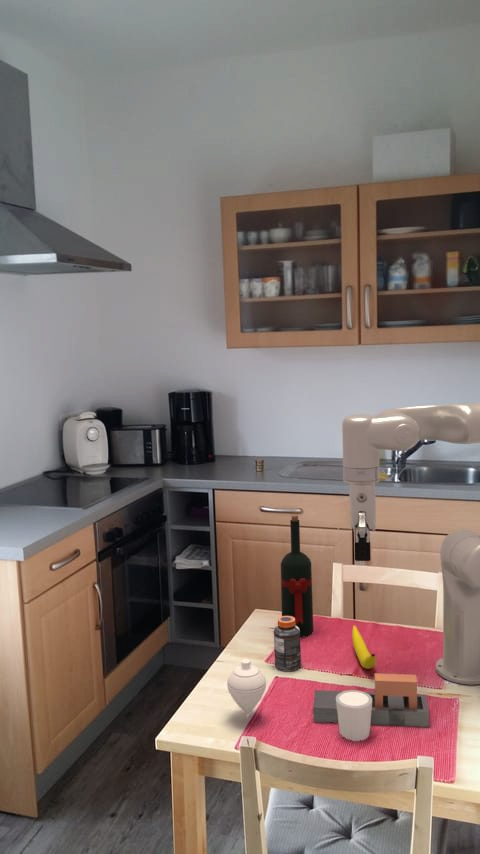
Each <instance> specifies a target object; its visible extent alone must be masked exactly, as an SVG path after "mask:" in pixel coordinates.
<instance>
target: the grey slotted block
mask: <svg viewBox="0 0 480 854" xmlns="http://www.w3.org/2000/svg"><path fill="white" fill-rule="evenodd" d="M343 691H344V690H342V691H341V690H325V689H321V690H320V689H319V690H318V689H315V690H314V695H313V704H312V705H313V706H312V718H313V720H312V721H313V723H325V722H328V723H330V722H333V723H332V724H339V722H338V713H337V705H336V696H337V695H338V694H339V693H341V692H343ZM364 692H365V693H367V694H369V695H370V696H371V697H372V711H371V723H370V726H375V725H376V726H394V727H395V726H398V727H399V726H400V727H417V728H420V727H421V728H429V727H430V710H429V705H428V699H427V694H426V693H425V694H424V693H417V709H408V696H384V695H383V708H375V691H374V692H373V691H371V692H370V691H364ZM335 722H336V723H335ZM330 724H331V723H330Z"/></svg>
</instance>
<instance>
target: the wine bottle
mask: <svg viewBox="0 0 480 854" xmlns="http://www.w3.org/2000/svg"><path fill="white" fill-rule="evenodd" d="M290 516H291V517H290V518H291V519H290V520H289V521H290V523H289V525H290V552H288V553H287V554H285V555H284V557H283V558H282V560H281V562H280V592H281V593H280V594H281V596H280V597H281V598H280V599H281V600H280V601H281V617H282V616H292V617H294V618H295V622H296V624H295V626H297V627H298V628H299V630H300V637H302V638H304V637H303V636H307V637H309V636H311V635H313V633H314V608H313V607H314V606H313V605H314V604H313V580H312V579H313V577H312V561H311V559H310V557H308V555H306V554H305V553H304V552H302V551H301V535H300V519H299V515H298V514H290ZM312 632H313V633H312ZM310 634H311V635H310ZM308 635H309V636H308Z"/></svg>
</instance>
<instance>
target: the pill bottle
mask: <svg viewBox="0 0 480 854" xmlns="http://www.w3.org/2000/svg"><path fill="white" fill-rule="evenodd" d="M295 624H296V622H295V618H294V617H292V616H282V615H281V616H280V617H278V619H277V626H276V627H274V629H273V642H274V643H273V644H274V646H273V647H274V649H273V650H274V666H275V668H276V669H278V670H280V671H283V672H295V671H297V670H298V669H300V667H301V665H302V656H301V655H302V654H301V652H302V651H301V649H302V648H301V638H300V630H299V628H298V627H297V626H295Z"/></svg>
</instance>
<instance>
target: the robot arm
mask: <svg viewBox="0 0 480 854" xmlns="http://www.w3.org/2000/svg"><path fill="white" fill-rule="evenodd" d="M341 423H342V430H341V431H342V434H341V435H342V481H343V482H344V483H345V484H348V490H349V491H348V493H349V495H348V496H349V514H350V520H351V522H350V523H351V527H352V530H353V531H354V541H353V542H354V560H355V562H370V561H371V541H370V530H372V532H375V531H376V529H377V525H376V524H377V520H376V511H377V509H376V508H377V507H376V505H377V504H376V503H377V502H376V486H375V484H377V483H380V482H381V480H380V478H381V477H380V475H381V474H380V472H381V471H380V450H385V451H396V452H402V451H407V450H410V449H412V448H413V447H415V446H416V445H417V444H418V442H419V441H423V440H424V441H425V440H426V441H427V440H428V441H441V442H446V443H448V444H449V443H451V444H458V445H459V444H460V445H470V444H471V445H473V444H480V401H479V402H469V403H467V402H466V403H449V404H442V405H440V404H438V405H437V404H435V405H419V406H418V405H417V406H406V407H395V408H387V409H384V410H382V411H380V412H379V413H378V414H376V415H372V414H364V413H363V414H360V413H359V414H358V413H357V414H350V415H347V416H345V417H344V418H343V420H342V422H341ZM439 558H440V567H441V575H442V588H443V591H442V593H443V594H442V595H443V597H442V598H443V600H442V601H443V602H442V604H443V605H442V606H443V607H442V609H443V611H442V612H443V613H442V614H443V615H442V619H443V620H442V622H443V625H442V627H443V628H442V631H443V632H442V634H443V635H442V640H443V641H442V643H443V644H442V646H443V647H442V649H443V650H442V651H443V652H442V655H443V656H442V657H440V658H439V659H438V660H437V661H436V662H435V671H436V672H437V674H438V675H439V676H440V677H442V678H443V679H445V680H447V681H450V682H453V683H456V684H460V685H461V684H462V685H470V686H471V685H472V686H473V685H480V534H478V533H477V532H475V531H473V530H469V529H465V528H462V529H461V528H460V529H456V530H453V531H451V532H449V533H448V534H447V535H446V536H445V537H444V539H443V541H442V542H441V546H440V551H439Z"/></svg>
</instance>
